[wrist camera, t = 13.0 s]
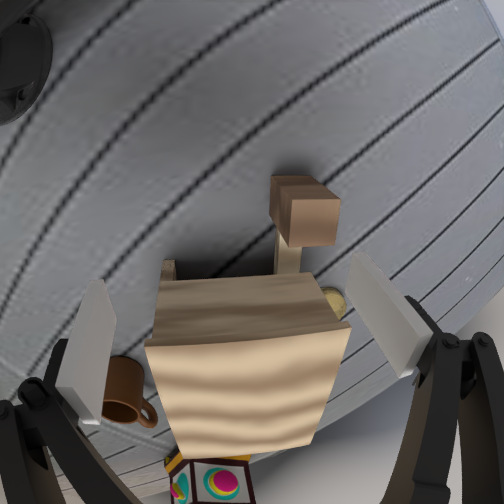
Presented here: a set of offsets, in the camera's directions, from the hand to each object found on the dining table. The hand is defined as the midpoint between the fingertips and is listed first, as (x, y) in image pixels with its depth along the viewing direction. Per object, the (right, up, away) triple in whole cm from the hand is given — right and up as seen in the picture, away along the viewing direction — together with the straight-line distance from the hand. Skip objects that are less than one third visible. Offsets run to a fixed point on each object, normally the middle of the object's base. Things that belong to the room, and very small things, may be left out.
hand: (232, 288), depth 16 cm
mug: (-20, -20, +33) cm, 43 cm away
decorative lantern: (-11, -49, +51) cm, 71 cm away
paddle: (+5, -1, +27) cm, 28 cm away
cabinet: (-2, -9, +30) cm, 32 cm away
